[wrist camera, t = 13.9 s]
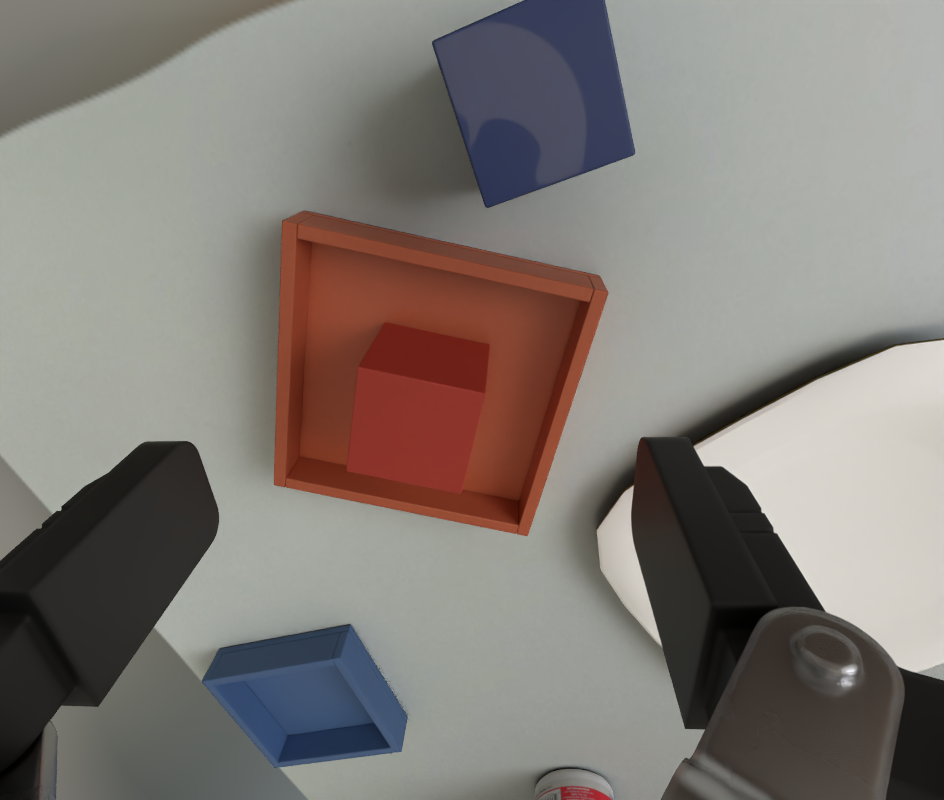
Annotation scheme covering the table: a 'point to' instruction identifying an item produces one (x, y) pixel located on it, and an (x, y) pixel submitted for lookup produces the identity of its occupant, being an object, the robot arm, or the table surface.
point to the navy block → (536, 95)
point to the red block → (417, 407)
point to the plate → (839, 496)
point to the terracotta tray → (439, 311)
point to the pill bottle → (573, 786)
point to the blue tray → (308, 697)
